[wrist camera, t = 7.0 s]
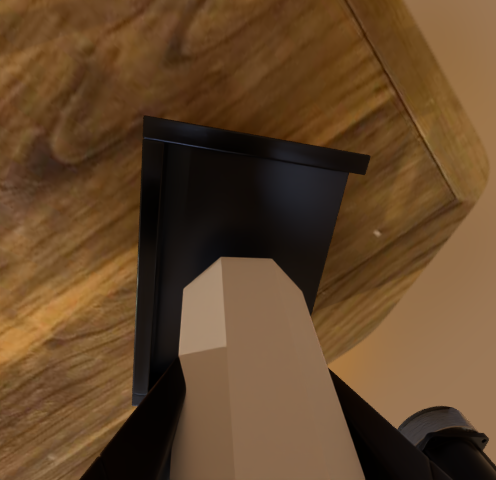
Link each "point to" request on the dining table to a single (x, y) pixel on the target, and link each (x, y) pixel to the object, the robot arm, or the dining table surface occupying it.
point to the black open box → (225, 220)
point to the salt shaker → (256, 382)
